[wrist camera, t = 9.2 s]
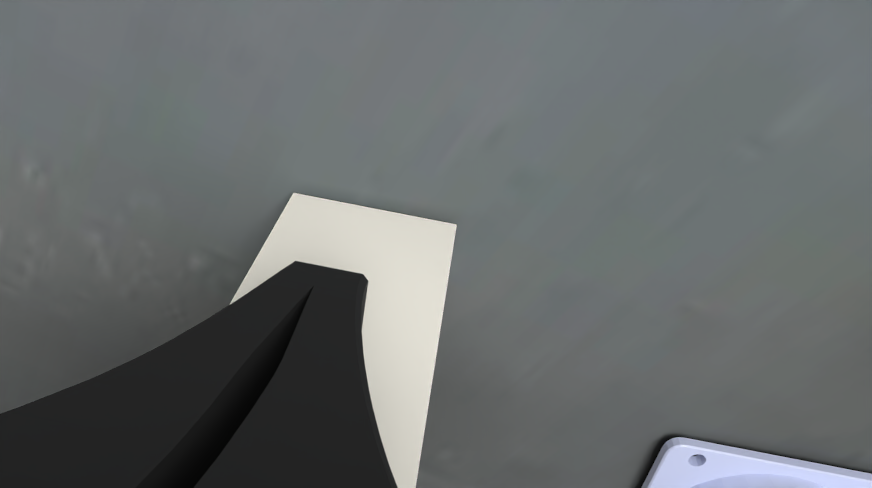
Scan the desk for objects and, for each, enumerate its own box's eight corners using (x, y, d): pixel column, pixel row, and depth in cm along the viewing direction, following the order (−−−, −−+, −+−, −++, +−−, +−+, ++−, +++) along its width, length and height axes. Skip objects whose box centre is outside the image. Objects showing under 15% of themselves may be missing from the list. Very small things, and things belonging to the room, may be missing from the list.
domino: (456, 224, 15) (398, 594, 8) (446, 269, 16) (387, 633, 9) (293, 192, 15) (97, 535, 8) (294, 239, 16) (118, 579, 9)
